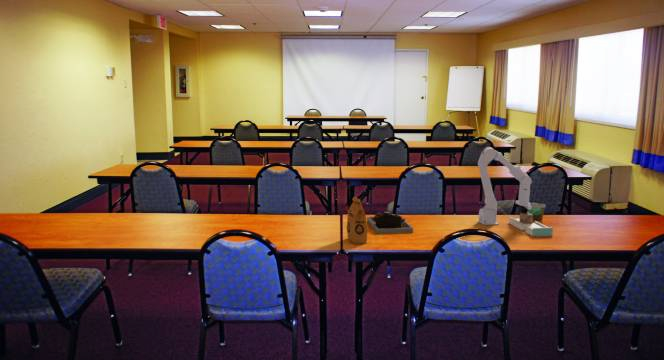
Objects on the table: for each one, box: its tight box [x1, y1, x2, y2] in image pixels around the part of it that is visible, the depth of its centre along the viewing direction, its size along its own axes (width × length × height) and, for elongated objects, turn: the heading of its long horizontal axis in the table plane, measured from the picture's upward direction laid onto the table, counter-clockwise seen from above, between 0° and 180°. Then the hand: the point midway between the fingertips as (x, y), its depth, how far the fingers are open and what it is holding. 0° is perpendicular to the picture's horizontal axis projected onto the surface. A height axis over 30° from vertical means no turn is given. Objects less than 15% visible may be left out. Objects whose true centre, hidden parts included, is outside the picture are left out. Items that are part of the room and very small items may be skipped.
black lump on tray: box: [373, 210, 406, 229], centre depth 285 cm, size 18×12×10 cm
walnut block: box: [519, 213, 534, 224], centre depth 289 cm, size 5×5×5 cm
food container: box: [527, 201, 547, 221], centre depth 306 cm, size 12×6×10 cm, turn 42°
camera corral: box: [366, 216, 414, 235], centre depth 289 cm, size 20×26×2 cm
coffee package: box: [346, 196, 368, 245], centre depth 260 cm, size 10×12×22 cm
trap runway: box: [508, 216, 554, 237], centre depth 285 cm, size 11×27×4 cm, turn 8°
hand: (522, 218), depth 293 cm, fingers closed
